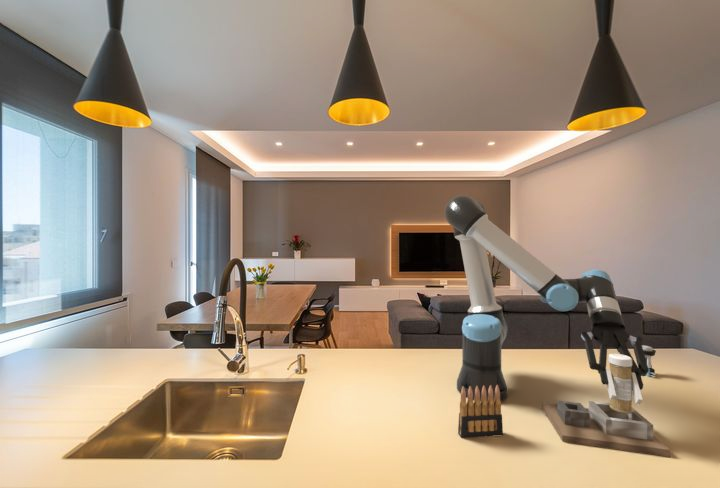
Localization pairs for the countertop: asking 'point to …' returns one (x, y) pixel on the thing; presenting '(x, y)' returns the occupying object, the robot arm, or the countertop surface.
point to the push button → (649, 359)
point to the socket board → (604, 427)
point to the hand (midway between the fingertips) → (625, 399)
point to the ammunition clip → (480, 413)
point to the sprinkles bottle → (621, 383)
